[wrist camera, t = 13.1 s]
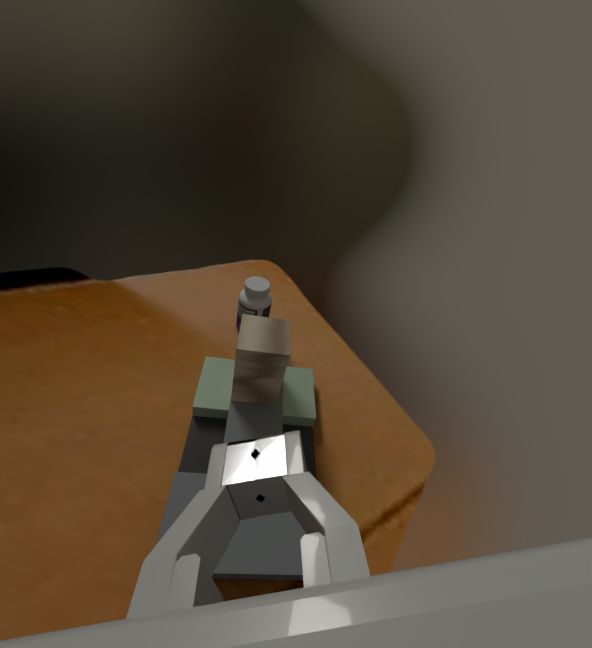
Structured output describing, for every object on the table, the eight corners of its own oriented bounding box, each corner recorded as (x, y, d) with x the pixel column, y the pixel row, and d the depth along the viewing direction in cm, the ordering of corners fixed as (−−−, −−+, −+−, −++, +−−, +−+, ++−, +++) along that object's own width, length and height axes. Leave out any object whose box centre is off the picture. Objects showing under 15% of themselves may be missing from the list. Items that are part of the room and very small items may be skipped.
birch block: (230, 400, 41) (236, 348, 34) (236, 365, 45) (242, 313, 39) (275, 405, 42) (289, 355, 35) (277, 370, 46) (289, 320, 40)
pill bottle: (259, 316, 58) (267, 272, 52) (270, 335, 55) (280, 291, 49) (231, 320, 56) (235, 275, 50) (241, 341, 53) (247, 295, 46)
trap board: (151, 577, 29) (148, 572, 27) (205, 367, 47) (205, 356, 46) (321, 580, 31) (327, 575, 29) (308, 379, 50) (312, 369, 48)
